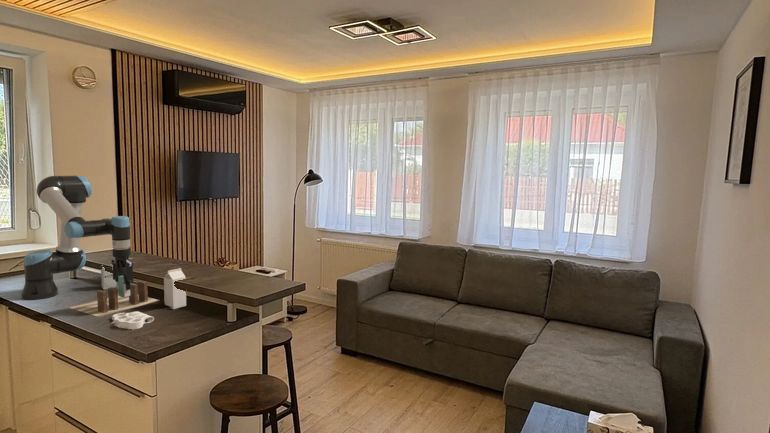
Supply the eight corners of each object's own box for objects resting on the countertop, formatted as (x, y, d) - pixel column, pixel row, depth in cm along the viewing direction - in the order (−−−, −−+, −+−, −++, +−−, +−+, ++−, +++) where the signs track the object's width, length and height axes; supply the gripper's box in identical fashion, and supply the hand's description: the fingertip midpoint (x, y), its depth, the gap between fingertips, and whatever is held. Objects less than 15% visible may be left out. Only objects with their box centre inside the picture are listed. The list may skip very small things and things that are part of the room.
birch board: (67, 309, 211) (67, 307, 211) (128, 294, 237) (128, 292, 237) (99, 319, 199) (99, 317, 199) (160, 302, 226) (159, 300, 225)
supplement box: (103, 290, 245) (102, 267, 244) (101, 287, 251) (100, 265, 249) (118, 288, 250) (117, 266, 248) (116, 285, 255) (115, 263, 254)
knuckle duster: (158, 323, 197) (124, 333, 185) (136, 315, 207) (103, 324, 195) (158, 316, 197) (124, 325, 185) (136, 308, 207) (103, 317, 194)
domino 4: (135, 304, 217) (134, 284, 216) (129, 303, 220) (128, 283, 219) (138, 303, 219) (137, 284, 218) (132, 302, 221) (131, 282, 220)
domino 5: (144, 302, 222) (144, 282, 221) (138, 300, 224) (138, 281, 223) (147, 301, 223) (147, 282, 222) (141, 299, 226) (141, 280, 225)
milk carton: (186, 305, 221) (185, 269, 219) (173, 309, 215) (172, 271, 213) (177, 303, 225) (176, 267, 223) (164, 307, 219) (163, 269, 217)
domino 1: (104, 313, 204) (103, 292, 203) (97, 311, 207) (97, 290, 205) (107, 312, 206) (106, 291, 205) (101, 310, 208) (100, 289, 207)
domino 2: (115, 310, 209) (114, 289, 208) (108, 308, 211) (107, 288, 210) (118, 309, 210) (117, 288, 209) (112, 307, 212) (111, 287, 211)
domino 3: (125, 297, 213) (124, 277, 211) (119, 296, 215) (118, 276, 214) (128, 297, 214) (127, 276, 213) (122, 295, 216) (121, 275, 215)
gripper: (102, 247, 213) (104, 294, 215) (125, 251, 204) (127, 300, 207) (118, 245, 219) (120, 290, 222) (140, 249, 211) (142, 296, 213)
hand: (123, 295), depth 214 cm, fingers closed on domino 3, 5 cm apart
